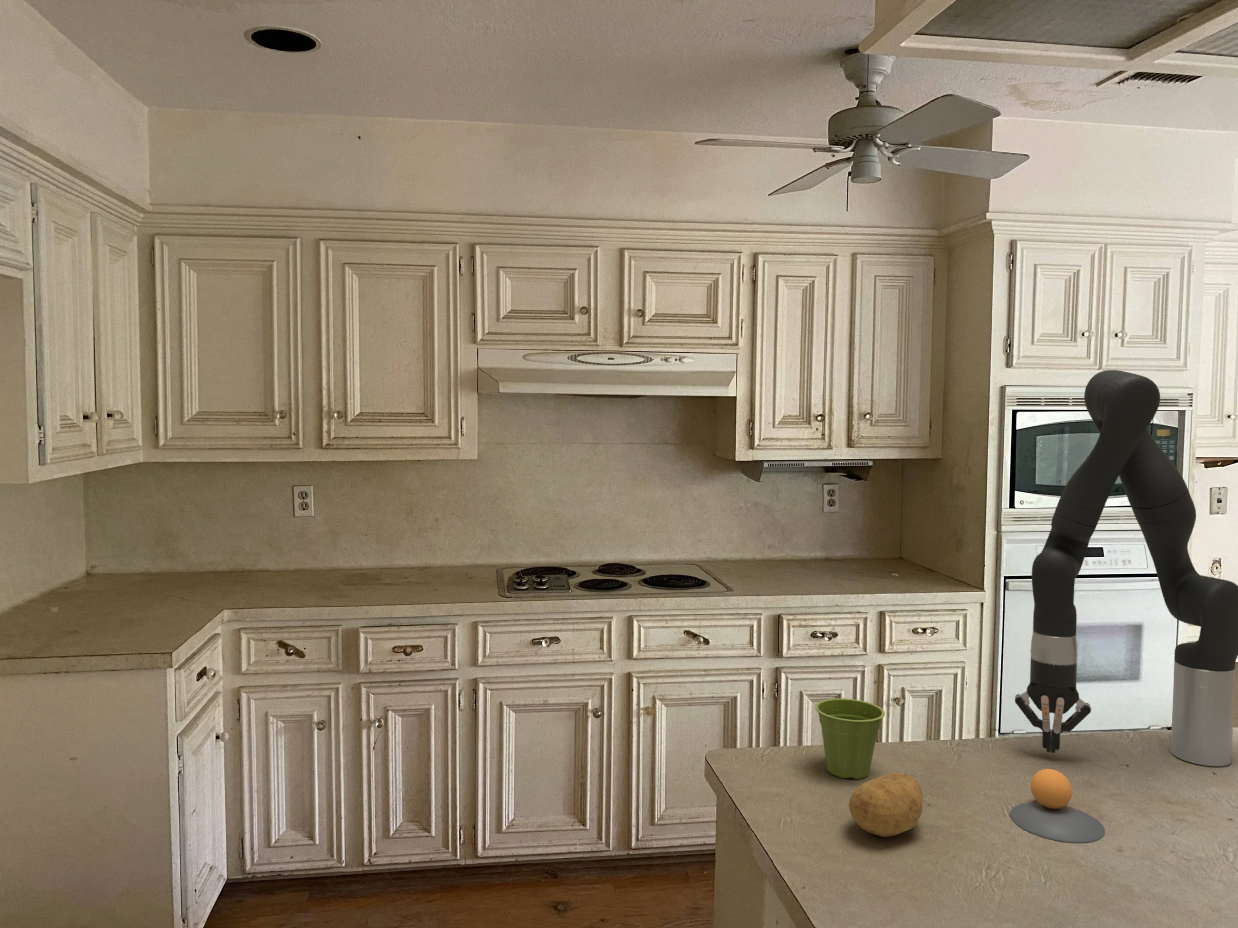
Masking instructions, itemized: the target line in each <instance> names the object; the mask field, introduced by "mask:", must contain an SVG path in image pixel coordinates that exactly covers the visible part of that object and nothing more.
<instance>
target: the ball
mask: <svg viewBox="0 0 1238 928" xmlns="http://www.w3.org/2000/svg"><path fill="white" fill-rule="evenodd" d="M1029 788H1030V793H1031V795H1032V797H1033V798H1034V800H1035V802H1038V803H1039V804H1041V805H1042V806H1044V807H1047V808H1050V809H1059V808H1062V807H1064V806H1068V804H1069V802H1071V800H1072V798H1073V797H1072V796H1073V787H1072V784H1071V782H1070V780H1069V778H1067V776H1066V775H1065V774H1063V773H1062V772H1060V771H1058V770H1056V769H1051V768H1045V769H1040V770H1039V771H1037V772H1036V773H1035V774H1034V775H1033V776H1032V778H1031V780H1030V787H1029Z"/></svg>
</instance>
